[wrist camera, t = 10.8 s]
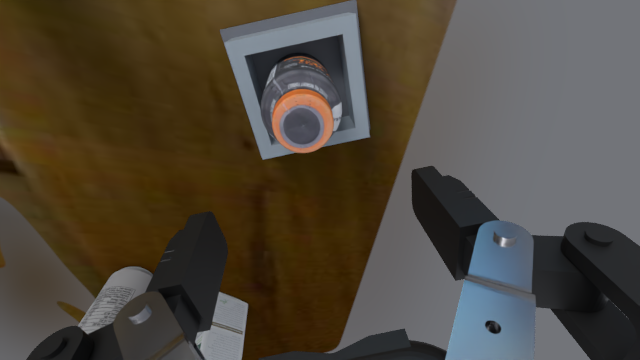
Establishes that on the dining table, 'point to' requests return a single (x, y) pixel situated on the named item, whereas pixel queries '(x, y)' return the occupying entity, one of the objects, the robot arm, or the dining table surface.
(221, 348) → the syrup box
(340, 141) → the holder
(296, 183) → the dining table surface
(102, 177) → the dining table surface
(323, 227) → the dining table surface
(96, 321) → the energy drink can
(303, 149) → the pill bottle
